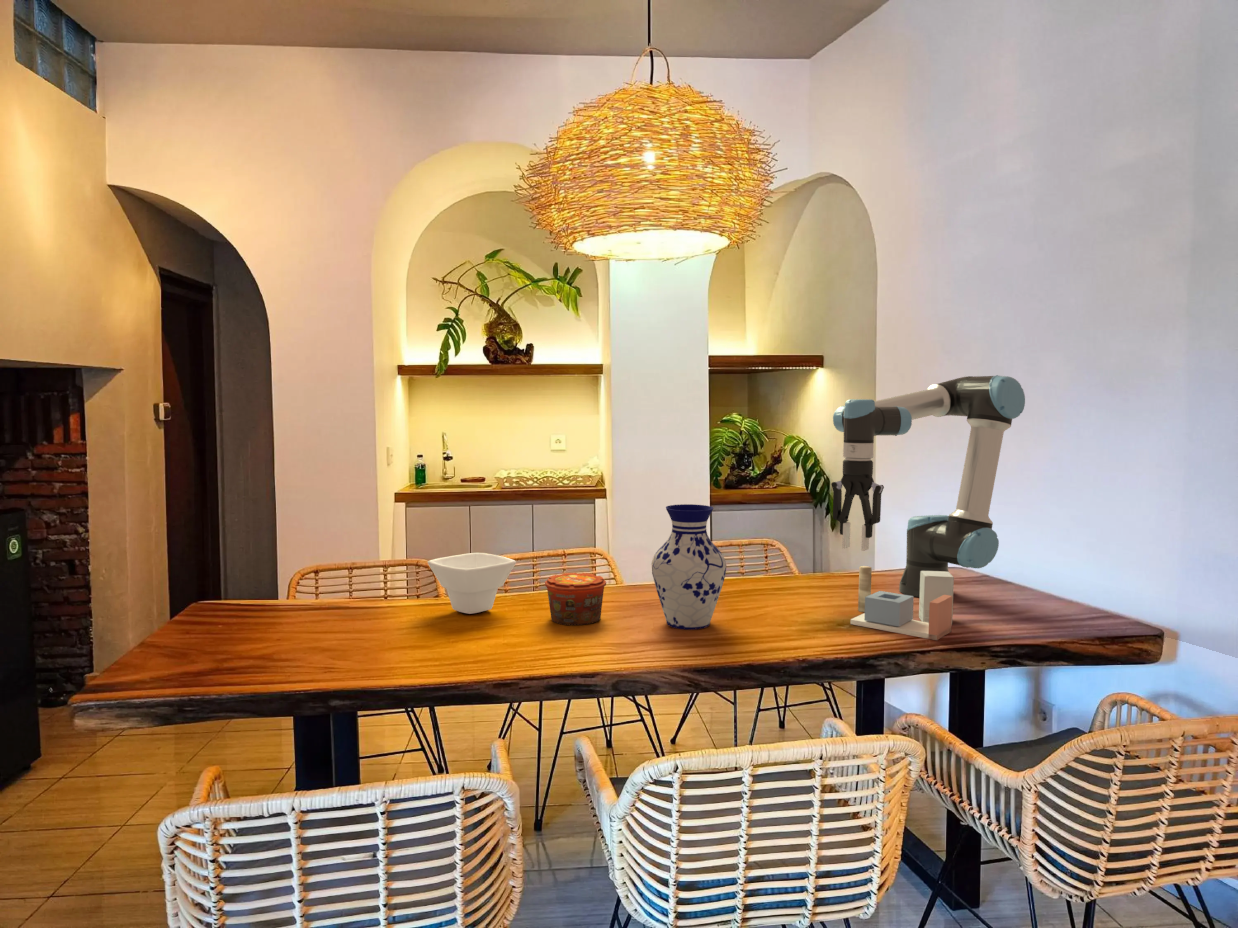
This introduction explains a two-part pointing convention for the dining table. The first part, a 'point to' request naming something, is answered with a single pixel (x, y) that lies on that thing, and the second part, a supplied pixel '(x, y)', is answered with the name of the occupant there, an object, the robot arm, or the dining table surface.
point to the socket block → (889, 608)
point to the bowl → (472, 579)
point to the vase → (688, 569)
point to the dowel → (864, 586)
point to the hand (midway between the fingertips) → (855, 548)
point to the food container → (575, 598)
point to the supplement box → (933, 590)
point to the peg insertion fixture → (933, 630)
